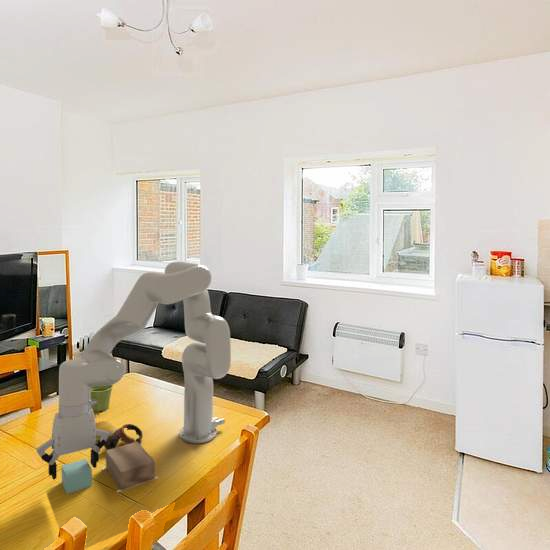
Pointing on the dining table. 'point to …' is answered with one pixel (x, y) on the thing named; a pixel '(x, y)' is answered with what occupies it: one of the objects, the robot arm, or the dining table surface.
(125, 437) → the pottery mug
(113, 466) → the plinth
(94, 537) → the dining table surface
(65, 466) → the teal cube
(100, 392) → the plant pot
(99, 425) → the bread roll
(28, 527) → the dining table surface
